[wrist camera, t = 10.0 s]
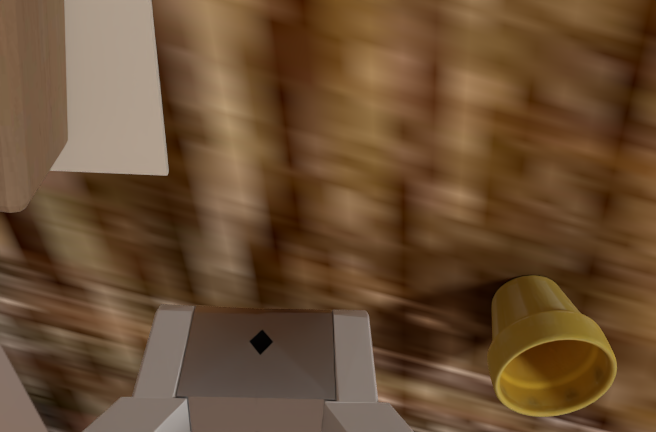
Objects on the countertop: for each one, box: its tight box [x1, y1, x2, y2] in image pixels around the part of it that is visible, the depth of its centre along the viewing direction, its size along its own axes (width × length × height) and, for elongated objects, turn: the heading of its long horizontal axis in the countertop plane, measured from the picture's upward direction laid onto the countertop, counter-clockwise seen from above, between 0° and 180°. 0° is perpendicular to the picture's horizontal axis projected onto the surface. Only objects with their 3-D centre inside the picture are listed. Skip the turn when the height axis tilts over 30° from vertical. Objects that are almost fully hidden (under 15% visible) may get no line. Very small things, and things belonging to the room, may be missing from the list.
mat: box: [50, 0, 169, 175], centre depth 44 cm, size 20×16×1 cm
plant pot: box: [487, 275, 617, 417], centre depth 57 cm, size 10×10×10 cm
